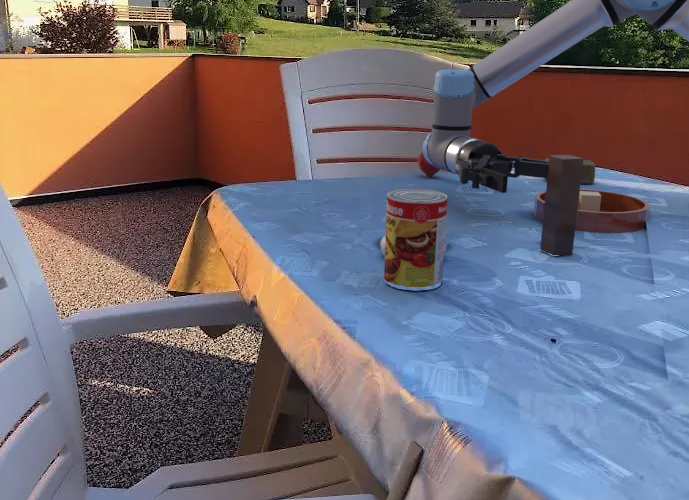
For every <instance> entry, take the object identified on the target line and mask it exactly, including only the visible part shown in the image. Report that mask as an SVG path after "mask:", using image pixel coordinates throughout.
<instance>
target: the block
mask: <svg viewBox="0 0 689 500" xmlns="http://www.w3.org/2000/svg"><path fill="white" fill-rule="evenodd" d="M600 203H601V195H600V194H599V192H588V191H580V193H579V201H578V210H584V211H595V212H599V211H600Z"/></svg>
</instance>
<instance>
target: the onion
mask: <svg viewBox="0 0 689 500" xmlns="http://www.w3.org/2000/svg"><path fill="white" fill-rule="evenodd" d="M417 166H418V168H419V170H420V171H421V172H422V173H423V174H424V175H425V176H426V177H428V178H432V177H433V176H435V175H436V174H438V173H439V172H440V170H441V169H438V168H436V167H435V166H434V165H432V164H430V163H429V162H428V161H427V160H426V159H425V157H424V155H423V150H421V152H420V153H419V156H418V160H417Z"/></svg>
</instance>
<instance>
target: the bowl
mask: <svg viewBox="0 0 689 500" xmlns="http://www.w3.org/2000/svg"><path fill="white" fill-rule="evenodd" d="M580 191H588V192H599V194H600V195H601V203H600V211H599V212H595V211H584V210H577V218H576V227H575V231H578V232H579V231H580V232H588V233H600V234H601V233H602V234H623V233H632V232H638V231H641V230H644V229H645V228H646V227H647V220H649V215H650V210H651V205H650V203H649V202H647V201H646V200H645V199H641V198H639V197H637V196H633V195H629V194H624V193H619V192H613V191H607V190H600V189H599V190H598V189H588V188H580ZM545 197H546V190H543V191H540V192H538V193H536V195H535V196H534V204H533V216H534V218H535V219H537V220H538V221H540V222H542V223H543V216H544V206H545Z"/></svg>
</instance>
